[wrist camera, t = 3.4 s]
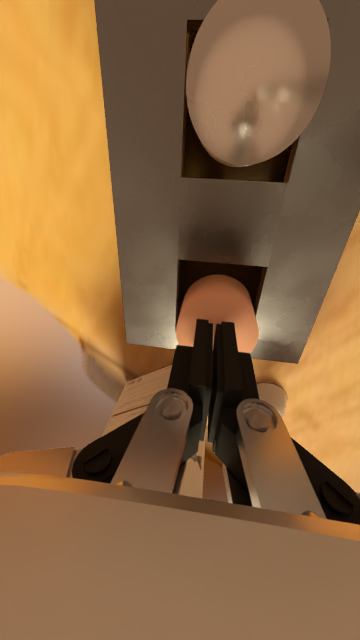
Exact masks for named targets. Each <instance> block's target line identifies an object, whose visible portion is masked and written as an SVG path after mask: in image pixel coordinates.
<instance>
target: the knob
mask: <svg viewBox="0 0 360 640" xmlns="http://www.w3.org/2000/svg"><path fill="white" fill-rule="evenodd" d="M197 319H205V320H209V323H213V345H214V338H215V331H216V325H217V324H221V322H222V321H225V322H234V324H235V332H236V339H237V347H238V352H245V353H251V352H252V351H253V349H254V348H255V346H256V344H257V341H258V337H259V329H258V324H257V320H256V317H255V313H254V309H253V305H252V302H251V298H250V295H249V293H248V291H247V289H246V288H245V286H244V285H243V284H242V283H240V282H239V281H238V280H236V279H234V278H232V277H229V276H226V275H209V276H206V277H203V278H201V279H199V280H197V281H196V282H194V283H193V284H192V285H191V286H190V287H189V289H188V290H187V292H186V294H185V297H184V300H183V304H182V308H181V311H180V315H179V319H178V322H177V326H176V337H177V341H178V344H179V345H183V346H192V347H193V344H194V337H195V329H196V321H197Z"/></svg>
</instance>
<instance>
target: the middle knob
mask: <svg viewBox="0 0 360 640" xmlns="http://www.w3.org/2000/svg"><path fill="white" fill-rule="evenodd" d="M330 60H331V40H330V30H329V26H328V21H327V18H326V15H325V12H324V9H323V7H322V5H321V3H320V1H319V0H218V1H217V2H216V3H215V4H214V6H213V7H212V8H211V9H210V11H209V13H208V14H207V16H206V17H205V19H204V21H203V23H202V25H201V27H200V28H199V30H198V33H197V35H196V38H195V40H194V43H193V46H192V50H191V53H190V57H189V62H188V68H187V77H186V96H187V105H188V110H189V115H190V118H191V121H192V124H193V127H194V129H195V131H196V133H197V135H198V137H199V139H200V141H201V143H202V145H203V147H204V148H205V150H206V151H207V152H208V153H209V155H210V156H211V157H213V158H214V159H215V160H216V161H218V162H220V163H222V164H224V165H227V166H230V167H245V166H250V165H253V164H257V163H260V162H263V161H266V160H268V159H270V158H272V157H275V156H276V155H278V154H279V153H281V152H282V151H284V150H285V149H286V148H287V147H289V146H290V145H291V144H292V143H293V142H294V141H295V140H296V139H297V138H298V137H299V136H300V134H301V133H302V132H303V131H304V129H305V128H306V127H307V125H308V124H309V122H310V121H311V119H312V117H313V115H314V114H315V112H316V110H317V108H318V106H319V103H320V101H321V98H322V96H323V93H324V90H325V87H326V83H327V79H328V74H329V68H330Z"/></svg>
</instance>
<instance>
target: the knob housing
mask: <svg viewBox="0 0 360 640" xmlns="http://www.w3.org/2000/svg"><path fill="white" fill-rule="evenodd" d="M94 1H95V12H96V22H97V33H98V44H99V54H100V65H101V76H102V86H103V97H104V107H105V118H106V129H107V139H108V150H109V160H110V171H111V182H112V192H113V203H114V214H115V224H116V235H117V245H118V256H119V267H120V277H121V288H122V299H123V309H124V320H125V330H126V341H127V343H128V344H136V345H145V346H153V347H161V348H170V349H176V346H177V345H179V344H178V341H177V337H176V326H177V322H178V319H179V315H180V311H181V308H182V304H183V300H184V299H178V292H179V269H180V260H192V261H204V262H216V263H227V264H239V265H251V266H263V271H262V275H261V279H260V284H259V288H258V292H257V296H256V301H255V305H254V306H253V309H254V313H255V317H256V320H257V324H258V329H259V337H258V341H257V344H256V346H255V348H254V349H253V351H252V352H251V353H250V355H251V358H254V359H262V360H271V361H279V362H288V363H296V364H298V362H299V360H300V357H301V355H302V352H303V350H304V347H305V345H306V342H307V340H308V337H309V335H310V332H311V330H312V327H313V325H314V322H315V320H316V317H317V315H318V312H319V310H320V307H321V305H322V303H323V300H324V298H325V295H326V293H327V290H328V288H329V285H330V283H331V280H332V278H333V275H334V273H335V270H336V268H337V265H338V263H339V260H340V258H341V255H342V253H343V250H344V248H345V246H346V243H347V241H348V238H349V236H350V233H351V231H352V228H353V226H354V223H355V221H356V218H357V216H358V213H359V211H360V0H319V1H320V3H321V5H322V7H323V9H324V12H325V15H326V18H327V21H328V26H329V30H330V40H331V60H330V68H329V74H328V79H327V83H326V87H325V90H324V93H323V96H322V98H321V101H320V103H319V106H318V108H317V110H316V112H315V114H314V115H313V117H312V119H311V121H310V122H309V124H308V125H307V127H306V128H305V129H304V131H303V132H302V133H301V134H300V136H299V137H298V138H297V139H296V140H295V141H294V142H293V143H292V148H291V152H290V156H289V160H288V165H287V169H286V173H285V177H284V182H266V181H247V180H227V179H208V178H189V177H184V154H185V131H186V108H187V96H186V77H187V68H188V62H189V39H190V33H198V30H199V28H200V27H201V25H202V23H203V21H204V19H205V17H206V16H207V14H208V13H209V11H210V9H211V8H212V7H213V6H214V4H215V3H216V2H217V1H218V0H94Z"/></svg>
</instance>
